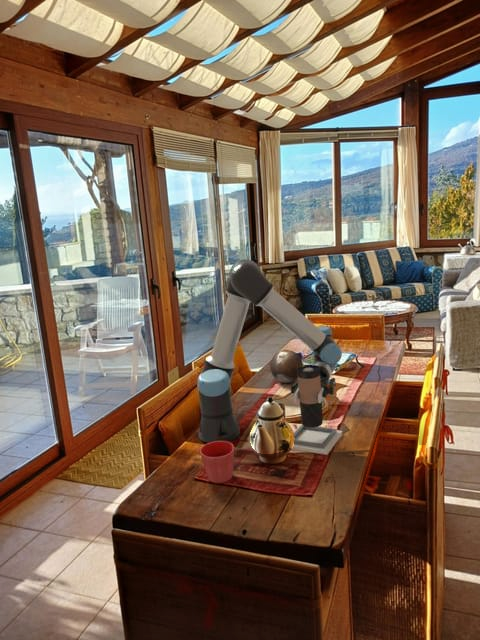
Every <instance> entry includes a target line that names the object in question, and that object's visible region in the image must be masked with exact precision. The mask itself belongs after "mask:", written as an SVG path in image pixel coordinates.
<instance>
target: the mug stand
mask: <svg viewBox="0 0 480 640" xmlns="http://www.w3.org/2000/svg"><path fill="white" fill-rule="evenodd" d="M293 432H294V438H295V439H294V446H293V449H292V450H295V451H301V452H307V453H311V454H312V453H314V454H320V455H325V456H328V454H329V453H330V451H331V450H332V449H333V447H334V446H335V445H336V443H337V442H338V440H339V439H340V438H341V436H342V435H343V430H339V429H337V428H331V427H326V426H318V427H313V428H310V427H305V426H303V424H302V423H301V424H300V425H299V426H298V427H297V428H296V429H295V430H294V431H293Z"/></svg>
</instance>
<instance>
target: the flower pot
mask: <svg viewBox="0 0 480 640" xmlns="http://www.w3.org/2000/svg"><path fill="white" fill-rule="evenodd" d="M199 454H200V457H201V461H202V464H203V468H204V470H205V472H206V473H205V474H206V476H207V479H208V481H209V482H211V483H214V484H223V483H226V482H228V481H230V480H231V479H232V477H233V475H234V461H235V459H234V458H235V446H234V444H233V443H232V442H230V441H228V442H227V441H214V442H210V443H206V444H204V445H203V446H201V448H200V449H199Z"/></svg>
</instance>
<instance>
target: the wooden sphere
mask: <svg viewBox="0 0 480 640" xmlns="http://www.w3.org/2000/svg"><path fill="white" fill-rule="evenodd" d="M302 360H303V359H302V358H301V357H300V355H299V354H298V353H296V352H295V351H293V350H289V349H283V350H280V351H278V352H276V353H275V354H274V355H273V357H272V358H271V360H270V364H269V366H270V367H269V368H270V371H271V375H272V376H273V378H274V379H276V380H277V381H279V382H280V383H283V384H286V383H287V384H289V383H292V382H293V383H294V382H296V381H297V380H298V374H297V368H298V367H299V368H302V367H303V366H304V363H303V361H302Z"/></svg>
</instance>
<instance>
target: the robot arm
mask: <svg viewBox="0 0 480 640" xmlns="http://www.w3.org/2000/svg"><path fill="white" fill-rule="evenodd" d="M274 287H275V285H274V284H273V283H271V281H270V280H269V279H267V278H266V276H265V274H264V273H263V272H262V270H261V267H260V265H259V264H258V263H257V262H255V261H253V260H251V259H247V258H246V259H240V260H238V261H236V262H234V264H233V265H231V267H230V270H229V276H228V281H227V284H226V288H225V293H226V295H227V299H226V302H225V306H224V309H223V313H222V317H221V319H220V323H219V327H218V330H217V333H216V337H215V340H214V343H213V347H212V350H211V351H212V352H211V355H209V356H207V357H206V358H205V361H204V365H203V367H202V370H200V371H201V372H200V374H199V375H198V378H197V384H196V385H197V389H198V397H199V399H198V400H199V407H200V413H201V418H200V424H199V428H198V438H199V439H200V441H202V442H204V443H206V444H208V443H210V442H214V441H227V442H230V441H232V440H235V439H237V437H239V436H240V434H241V430H240V425H239V424H238V420H237V419H236V416H235V414H234V412H233V411H234V409H233V401H232V398H233V397H232V392H231V391H232V389H231V381H232V378H233V375H234V371H235V368H236V365H235V363H234V358H235V354H236V350H237V347H238V344H239V340H240V337H241V334H242V330H243V327H244V323H245V321H246V317H247V313H248V310H249V307H250V304H251V303H252V305H254V306H255V307H260V308H262V309H263V310H264V311H265V312H267V313H268V314H269V315H270V316H271V317H273V319H275V320H276V321H277V322H278V323H280V324H281V325H282V326H283V327H284V328H285V329H287V330H288V331H289V333H291V334H293V336H295V337H296V338H297V339H298V340H299V341H300V342H302V343H303V344H304V345H306V346H307V347H308V348H309V349H310V350H311V351H312V352H313V362H314V363H313V365H316V366H318V367H319V369H320V382H321V390H320V392H319V394H318V403H321V401H322V402H323V399H324V398H326V397H327V396H328V395H331V396H333V395H334V393H335V392H334V391H335V390H334V389H335V386H336V378H335V377H331V376H332V375H333V373H334V371H335V369H336V364H338V363H339V362H341V361H340V360H341V359H342V356H343V352H342V349H341V347H340V345H338V344H337V343H336V341H335V340H334V339H333V332H332V330H333V329H332V328H331V327H329V326H327V325H326V326H324V325H322V326H317V325H315V324H314V323H313V322H312V321H311V320H310V319H308V318H307V317H306V316H305V315H304V314H303V313H302V312H301V311H299V310H298V309H297V308H296V307H295V306H294V305H292V304H291V302H289V301H288V300H287V299H285V298H284V296H282V295H281V294H280V293H279V292H277V290H275V288H274ZM328 385H329V388H328ZM290 393H291V394H292V395H293V401H294V402H293V403H297V402H299V401H298V400H299V388H298V379H297V380H295V381H294V382H293V383H292V385H290Z"/></svg>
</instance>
